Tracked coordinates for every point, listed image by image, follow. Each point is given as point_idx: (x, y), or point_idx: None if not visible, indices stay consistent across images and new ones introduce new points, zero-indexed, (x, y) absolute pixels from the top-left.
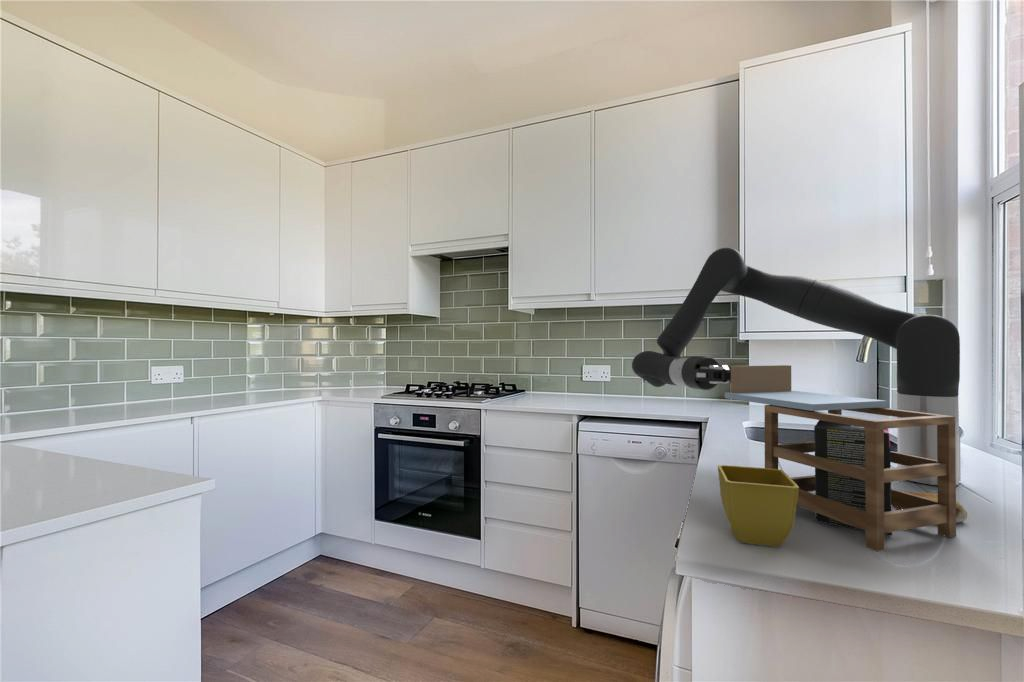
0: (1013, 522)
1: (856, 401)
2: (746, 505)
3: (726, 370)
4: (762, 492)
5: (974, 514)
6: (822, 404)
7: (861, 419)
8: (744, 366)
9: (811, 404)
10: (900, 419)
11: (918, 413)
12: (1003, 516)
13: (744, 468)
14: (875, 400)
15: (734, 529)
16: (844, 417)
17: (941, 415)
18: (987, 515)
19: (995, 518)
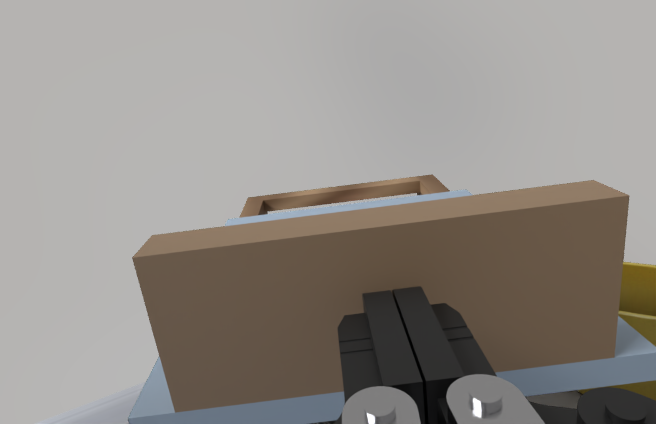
0: (122, 390)
1: (314, 211)
2: (650, 300)
3: (598, 393)
4: (625, 274)
5: (121, 419)
6: (436, 194)
7: (436, 180)
8: (536, 188)
9: (467, 191)
10: (372, 183)
11: (260, 209)
12: (93, 408)
13: (635, 315)
14: (249, 219)
15: None
16: (446, 188)
17: (256, 200)
18: (109, 413)
19: (119, 403)
